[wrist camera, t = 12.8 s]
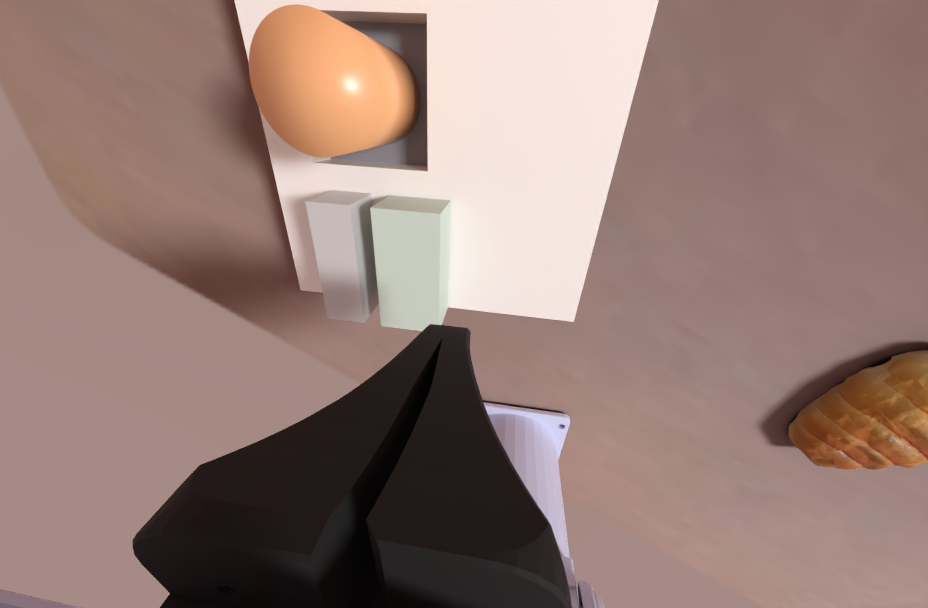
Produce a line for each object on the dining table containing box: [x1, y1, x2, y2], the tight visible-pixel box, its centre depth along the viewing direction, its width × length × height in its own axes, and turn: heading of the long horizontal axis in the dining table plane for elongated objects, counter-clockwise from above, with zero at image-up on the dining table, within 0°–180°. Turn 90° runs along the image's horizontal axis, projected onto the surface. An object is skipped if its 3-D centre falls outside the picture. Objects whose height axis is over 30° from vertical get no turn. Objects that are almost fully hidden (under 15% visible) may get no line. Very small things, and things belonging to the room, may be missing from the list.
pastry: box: [788, 350, 928, 470], centre depth 19 cm, size 9×7×4 cm
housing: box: [234, 0, 659, 323], centre depth 15 cm, size 15×16×4 cm
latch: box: [370, 195, 451, 331], centre depth 16 cm, size 6×3×2 cm, turn 177°
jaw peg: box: [249, 4, 420, 158], centre depth 13 cm, size 4×4×6 cm
